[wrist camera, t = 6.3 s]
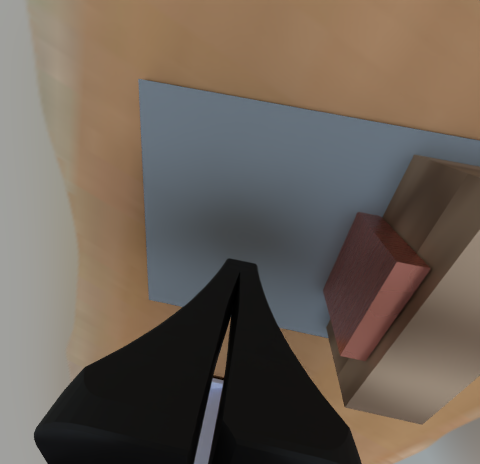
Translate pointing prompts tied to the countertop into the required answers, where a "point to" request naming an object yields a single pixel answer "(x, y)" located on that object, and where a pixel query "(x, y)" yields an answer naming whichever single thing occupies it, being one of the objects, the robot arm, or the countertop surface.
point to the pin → (370, 284)
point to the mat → (265, 191)
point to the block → (426, 300)
